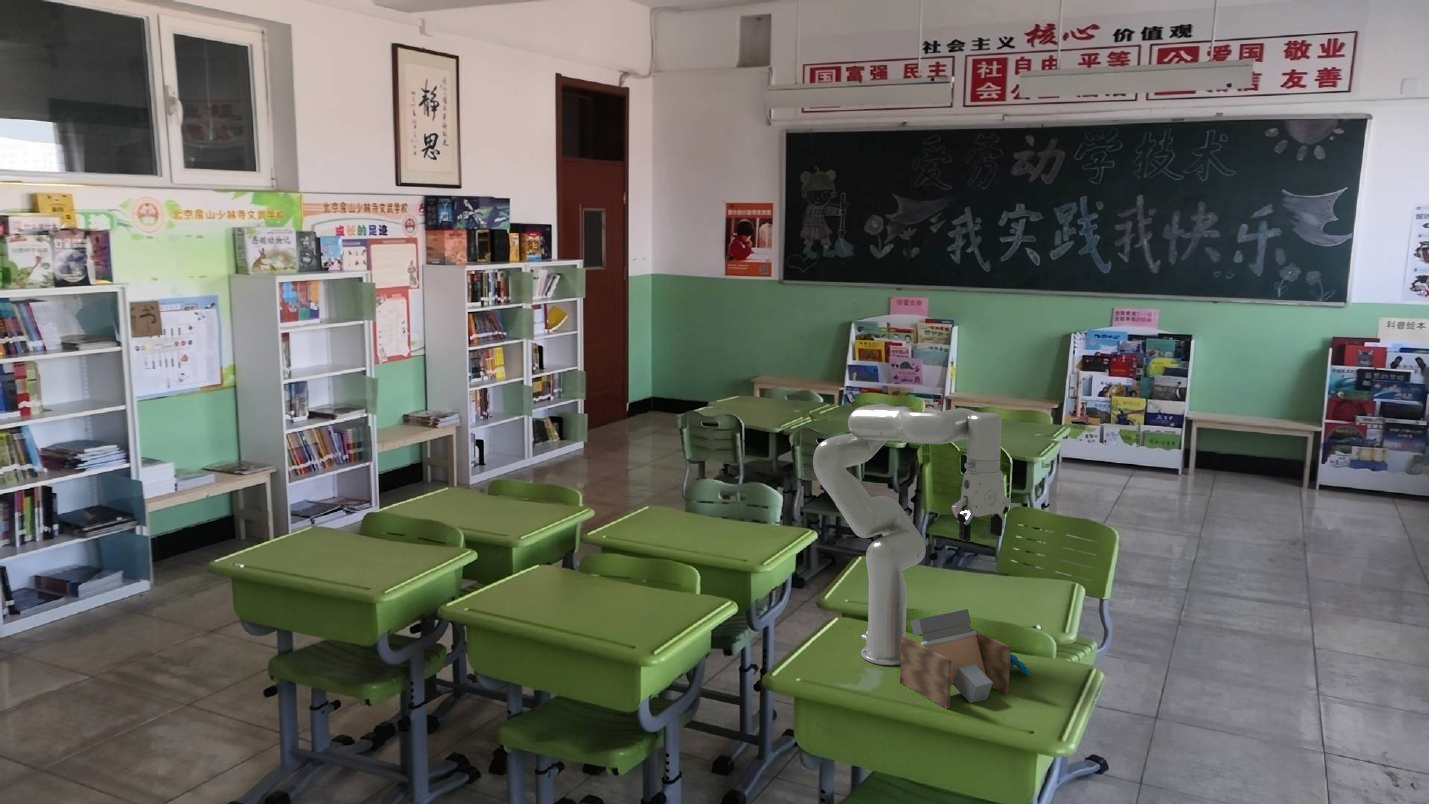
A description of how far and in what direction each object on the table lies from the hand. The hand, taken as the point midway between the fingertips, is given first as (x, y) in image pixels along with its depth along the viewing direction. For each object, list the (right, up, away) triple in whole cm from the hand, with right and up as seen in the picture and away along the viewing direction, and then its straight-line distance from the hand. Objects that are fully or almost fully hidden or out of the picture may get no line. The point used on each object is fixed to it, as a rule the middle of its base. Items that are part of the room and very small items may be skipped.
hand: (980, 537), depth 248 cm
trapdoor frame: (-6, -36, +3) cm, 37 cm away
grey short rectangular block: (-3, -34, -3) cm, 34 cm away
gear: (+11, -35, +12) cm, 39 cm away
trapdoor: (-8, -28, +5) cm, 29 cm away
